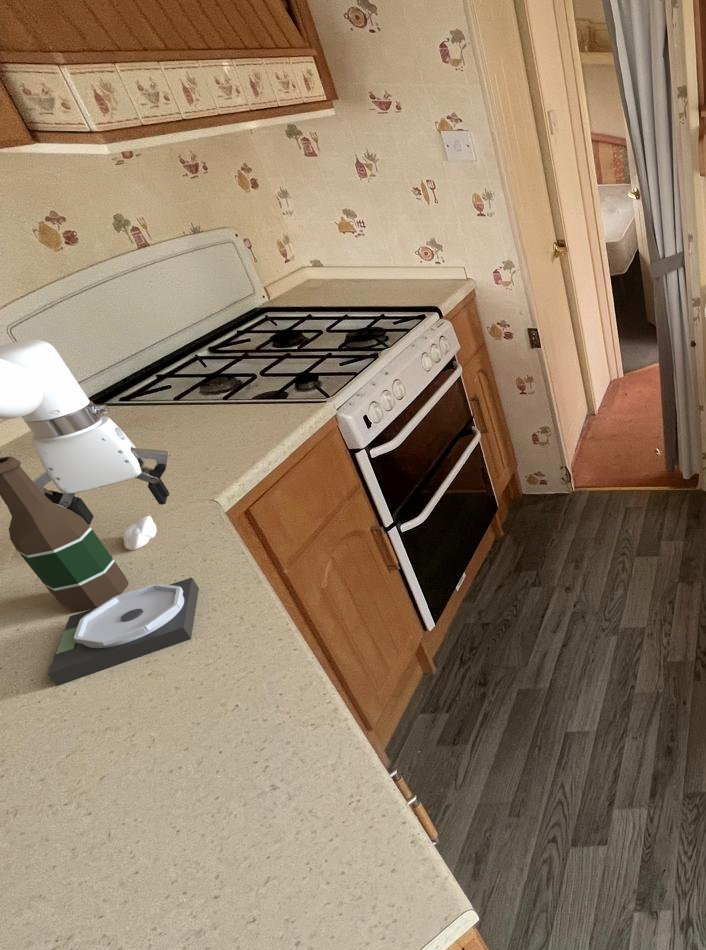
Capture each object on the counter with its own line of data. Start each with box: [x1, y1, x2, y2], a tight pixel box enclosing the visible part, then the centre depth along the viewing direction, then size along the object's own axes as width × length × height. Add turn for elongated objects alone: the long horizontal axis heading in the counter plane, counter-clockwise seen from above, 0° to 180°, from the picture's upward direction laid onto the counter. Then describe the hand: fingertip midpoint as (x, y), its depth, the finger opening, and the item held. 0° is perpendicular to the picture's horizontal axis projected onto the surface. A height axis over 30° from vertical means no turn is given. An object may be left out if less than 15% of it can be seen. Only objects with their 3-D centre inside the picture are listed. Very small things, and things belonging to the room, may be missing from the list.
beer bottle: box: [0, 456, 129, 613], centre depth 97 cm, size 8×8×24 cm
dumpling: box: [122, 515, 158, 551], centre depth 114 cm, size 7×5×4 cm
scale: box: [46, 577, 200, 686], centre depth 95 cm, size 14×13×4 cm
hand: (127, 511), depth 112 cm, fingers open, 9 cm apart
